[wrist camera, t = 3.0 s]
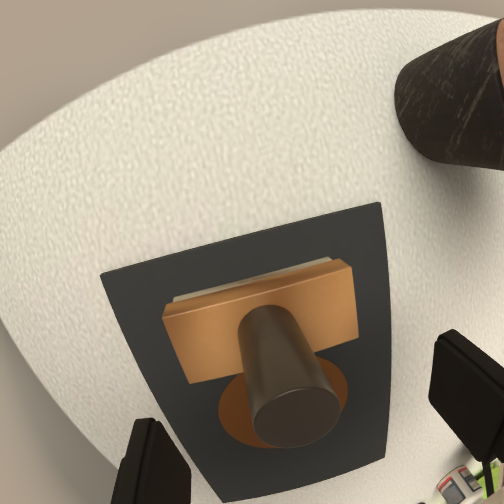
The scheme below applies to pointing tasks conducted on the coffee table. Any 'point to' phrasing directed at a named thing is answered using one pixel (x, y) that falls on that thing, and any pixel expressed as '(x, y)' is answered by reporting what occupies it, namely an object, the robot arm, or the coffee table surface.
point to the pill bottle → (461, 487)
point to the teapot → (495, 480)
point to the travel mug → (457, 100)
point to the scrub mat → (233, 386)
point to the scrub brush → (271, 343)
